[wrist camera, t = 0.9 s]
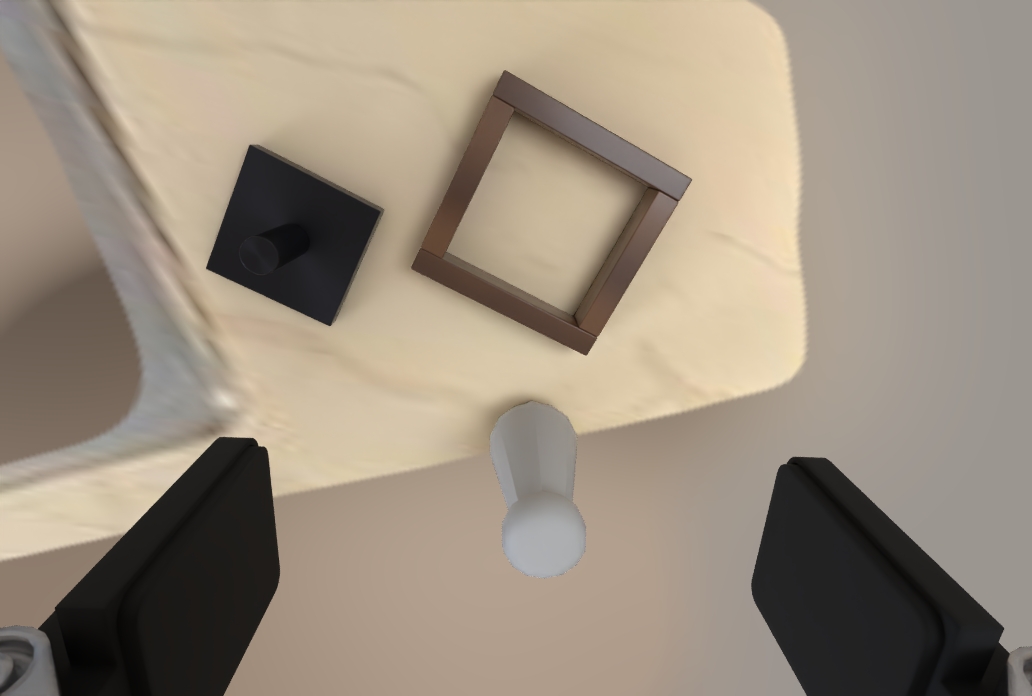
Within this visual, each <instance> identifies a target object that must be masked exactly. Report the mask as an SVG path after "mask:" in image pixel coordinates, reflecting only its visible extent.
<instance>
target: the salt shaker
mask: <svg viewBox="0 0 1032 696" xmlns="http://www.w3.org/2000/svg"><path fill="white" fill-rule="evenodd" d="M576 448H577V434H576V432H575V430H574V428H573V426H572V424H571V422H570V420H569V418H568V417H567V416H566V415H565V414H563V413H562V412H560V411H559V410H557V409H556V408H555V407H553V406H551V405H546V404H541V403H537V402H534V401H530V402H528V403H525V404H522V405H518V406H514V407H513V408H511V409H510V410H509V411H507V412H506V413H504V414H503V415H502V416H500V417H499V419H498V421H497V423H496V425H495V427H494V429H493V431H492V433H491V436H490V455H491V458H492V461H493V465H494V468H495V471H496V474H497V477H498V480H499V483H500V486H501V489H502V492H503V495H504V498H505V501H506V505H507V507H508V513H507V514H506V516H505V518H504V520H503V524H502V547H503V550H504V553H505V555H506V557H507V558H508V560H509V561H510V563H511V565H512V566H513V567H514V568H516V569H518V570H519V571H521V572H522V573H524V574H525V575H527V576H533V577H540V578H547V577H553V576H558V575H562V574H564V573H565V572H567V571H568V570H570V569H571V568H573V567H574V566H576V565H577V563H578V562H579V560H580V559H581V557H582V555H583V554H584V552H585V541H586V526H585V523H584V520H583V518H582V516H581V514H580V512H579V510H578V508H577V506H576V505H575V504H574V503H573V490H574V477H575V464H576V450H577V449H576Z"/></svg>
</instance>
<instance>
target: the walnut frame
mask: <svg viewBox="0 0 1032 696" xmlns="http://www.w3.org/2000/svg"><path fill="white" fill-rule="evenodd" d="M514 111H516V112H518V113H519V114H521V115H523V116H525V117H526V118H528V119H530V120H532V121H533V122H535V123H537V124H539V125H540V126H542V127H544V128H546V129H547V130H549V131H551V132H553V133H554V134H556V135H558V136H560V137H561V138H563V139H565V140H567V141H568V142H570V143H572V144H574V145H575V146H577V147H579V148H581V149H582V150H584V151H586V152H588V153H589V154H591V155H593V156H595V157H596V158H598V159H600V160H602V161H603V162H605V163H607V164H609V165H611V166H612V167H614V168H616V169H618V170H619V171H621V172H623V173H625V174H626V175H628V176H630V177H632V178H633V179H635V180H637V181H639V182H640V183H642V184H644V185H646V186H647V187H649V188H648V189H647V191H646V192H645V194H644V196H643V198H642V199H641V201H640V203H639V205H638V206H637V208H636V210H635V211H634V213H633V215H632V217H631V218H630V220H629V222H628V224H627V225H626V227H625V229H624V230H623V232H622V234H621V236H620V237H619V239H618V241H617V243H616V244H615V246H614V248H613V249H612V251H611V253H610V255H609V256H608V258H607V260H606V262H605V263H604V265H603V267H602V268H601V270H600V272H599V274H598V275H597V277H596V279H595V281H594V282H593V284H592V286H591V287H590V289H589V291H588V293H587V294H586V296H585V298H584V300H583V301H582V303H581V305H580V306H579V308H578V310H577V312H576V313H575V315H574V317H573V316H571V315H570V314H568V313H566V312H564V311H562V310H560V309H558V308H556V307H554V306H552V305H550V304H548V303H546V302H544V301H542V300H540V299H538V298H536V297H534V296H532V295H530V294H528V293H526V292H524V291H522V290H520V289H518V288H516V287H514V286H512V285H510V284H509V283H507V282H505V281H503V280H501V279H499V278H497V277H495V276H493V275H491V274H489V273H487V272H485V271H483V270H481V269H479V268H477V267H475V266H473V265H471V264H469V263H467V262H465V261H463V260H461V259H459V258H457V257H455V256H453V255H451V254H450V253H448V252H446V250H447V248H448V246H449V244H450V242H451V240H452V238H453V236H454V234H455V232H456V230H457V228H458V226H459V224H460V222H461V220H462V217H463V215H464V213H465V211H466V209H467V207H468V205H469V203H470V201H471V199H472V197H473V195H474V193H475V191H476V189H477V187H478V185H479V182H480V180H481V178H482V176H483V174H484V172H485V170H486V168H487V166H488V164H489V162H490V160H491V158H492V156H493V154H494V152H495V150H496V148H497V145H498V143H499V141H500V139H501V137H502V135H503V133H504V131H505V129H506V127H507V125H508V123H509V121H510V119H511V117H512V115H513V113H514ZM691 181H692V179H691V178H690V177H688V176H686V175H684V174H683V173H681V172H679V171H678V170H676V169H674V168H672V167H671V166H669V165H667V164H665V163H664V162H662V161H660V160H659V159H657V158H655V157H653V156H652V155H650V154H648V153H647V152H645V151H643V150H641V149H640V148H638V147H636V146H635V145H633V144H631V143H629V142H628V141H626V140H624V139H623V138H621V137H619V136H617V135H616V134H614V133H612V132H611V131H609V130H607V129H605V128H604V127H602V126H600V125H599V124H597V123H595V122H593V121H592V120H590V119H588V118H587V117H585V116H583V115H581V114H580V113H578V112H576V111H575V110H573V109H571V108H569V107H568V106H566V105H564V104H563V103H561V102H559V101H557V100H556V99H554V98H552V97H550V96H549V95H547V94H545V93H544V92H542V91H540V90H538V89H537V88H535V87H533V86H532V85H530V84H528V83H526V82H525V81H523V80H521V79H520V78H518V77H516V76H514V75H513V74H511V73H509V72H508V71H506V70H504V71H503V73H502V76H501V78H500V80H499V82H498V84H497V86H496V88H495V90H494V93H493V96H492V97H491V99H490V101H489V103H488V105H487V107H486V110H485V112H484V114H483V116H482V118H481V120H480V122H479V124H478V126H477V129H476V131H475V133H474V135H473V137H472V139H471V141H470V143H469V146H468V148H467V150H466V152H465V154H464V156H463V158H462V160H461V163H460V165H459V167H458V169H457V171H456V173H455V175H454V177H453V180H452V182H451V184H450V186H449V188H448V190H447V192H446V194H445V197H444V199H443V201H442V203H441V205H440V207H439V209H438V211H437V214H436V216H435V218H434V220H433V222H432V224H431V226H430V228H429V231H428V233H427V235H426V237H425V239H424V241H423V243H422V245H421V248H420V250H419V252H418V254H417V256H416V258H415V260H414V262H413V265H412V267H411V269H412V270H414V271H416V272H418V273H420V274H422V275H424V276H426V277H428V278H430V279H432V280H434V281H436V282H438V283H440V284H442V285H445V286H447V287H449V288H451V289H453V290H455V291H457V292H459V293H461V294H463V295H465V296H467V297H469V298H471V299H473V300H475V301H477V302H479V303H481V304H483V305H485V306H487V307H489V308H491V309H493V310H495V311H497V312H499V313H501V314H503V315H505V316H507V317H509V318H511V319H513V320H515V321H517V322H519V323H521V324H523V325H525V326H527V327H529V328H531V329H533V330H535V331H537V332H539V333H541V334H543V335H545V336H547V337H549V338H551V339H553V340H555V341H557V342H559V343H561V344H563V345H565V346H567V347H569V348H571V349H573V350H575V351H577V352H579V353H581V354H583V355H587V354H588V353H589V351H590V349H591V348H592V346H593V344H594V343H595V341H596V339H597V337H598V336H599V334H600V333H601V331H602V329H603V328H604V326H605V324H606V323H607V321H608V319H609V318H610V316H611V314H612V313H613V311H614V309H615V308H616V306H617V304H618V303H619V301H620V299H621V298H622V296H623V294H624V293H625V291H626V289H627V288H628V286H629V284H630V283H631V281H632V279H633V278H634V276H635V274H636V273H637V271H638V269H639V268H640V266H641V264H642V263H643V261H644V259H645V258H646V256H647V254H648V253H649V251H650V249H651V248H652V246H653V244H654V243H655V241H656V239H657V238H658V236H659V234H660V233H661V231H662V229H663V228H664V226H665V224H666V223H667V221H668V219H669V218H670V216H671V214H672V213H673V211H674V209H675V208H676V206H677V204H678V201H680V199H681V198H682V196H683V194H684V193H685V191H686V189H687V188H688V186H689V184H690V183H691Z"/></svg>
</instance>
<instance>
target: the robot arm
mask: <svg viewBox="0 0 1032 696" xmlns="http://www.w3.org/2000/svg"><path fill="white" fill-rule="evenodd" d="M279 576H280V565H279V556H278V546H277V537H276V526H275V516H274V507H273V496H272V487H271V477H270V467H269V457H268V451H267V449H266V448H265V447H261V446H258V443H257V441H256V440H255V439H254V438H234V437H219V438H218V439H217V440H215V441H214V442H213V444H212V445H211V446H210V447H209V448H208V449H207V450H206V451H205V452H204V453H203V454H202V455H201V456H200V457H199V458H198V459H197V460H196V461H195V462H194V463H193V464H192V465H191V466H190V467H189V468H188V470H187V471H186V472H185V473H184V474H183V475H182V476H181V477H180V478H179V479H178V480H177V481H176V482H175V483H174V484H173V485H172V486H171V487H170V488H169V489H168V490H167V491H166V492H165V493H164V494H163V496H162V497H161V498H160V499H159V500H158V501H157V502H156V503H155V504H154V505H153V506H152V507H151V508H150V509H149V510H148V511H147V512H146V513H145V514H144V515H143V516H142V517H141V518H140V519H139V520H138V522H137V523H136V524H135V525H134V526H133V527H132V528H131V529H130V530H129V531H128V532H127V533H126V534H125V535H124V536H123V537H122V538H121V539H120V541H118V542H117V543H116V544H115V545H114V546H113V548H112V549H111V550H110V551H109V552H108V553H107V554H106V555H105V556H104V557H103V558H102V559H101V560H100V561H99V562H98V563H97V564H96V565H95V566H94V567H93V568H92V569H91V570H90V571H89V573H88V574H87V575H86V576H85V577H84V578H83V579H82V580H81V581H80V582H79V583H78V584H77V585H76V586H75V587H74V588H73V589H72V590H71V591H70V592H69V593H68V594H67V595H66V596H65V597H64V599H63V600H62V601H61V602H60V603H59V604H58V605H57V606H56V607H55V611H54V612H53V614H52V615H51V616H50V617H49V618H48V619H47V620H46V621H45V622H44V623H43V624H42V625H41V626H40V627H39V628H38V629H36V628H34V627H25V626H9V627H3V628H0V696H223V695H224V693H225V691H226V689H227V687H228V685H229V683H230V681H231V679H232V677H233V675H234V673H235V671H236V669H237V668H238V666H239V664H240V661H241V660H242V658H243V656H244V654H245V652H246V649H247V648H248V646H249V643H250V641H251V640H252V637H253V636H254V633H255V632H256V630H257V628H258V626H259V624H260V622H261V619H262V618H263V616H264V614H265V612H266V610H267V608H268V606H269V604H270V602H271V600H272V598H273V596H274V594H275V591H276V589H277V586H278V583H279ZM751 587H752V595H753V598H754V601H755V603H756V605H757V607H758V609H759V611H760V612H761V614H762V616H763V618H764V619H765V621H766V623H767V625H768V626H769V628H770V630H771V632H772V634H773V636H774V637H775V639H776V641H777V643H778V645H779V646H780V648H781V650H782V652H783V654H784V655H785V657H786V659H787V661H788V662H789V664H790V666H791V668H792V670H793V671H794V673H795V675H796V677H797V679H798V680H799V682H800V684H801V686H802V688H803V689H804V691H805V693H806V695H807V696H1032V646H1030V647H1019V648H1017V649H1016V650H1014V651H1012V652H1011V653H1009V652H1008V651H1006V649H1004V648H1003V646H1002V645H1001V644H1000V643H999V639H1000V637H1001V635H1002V633H1003V630H1004V627H1003V626H1002V625H1001V624H999V623H998V622H997V621H996V620H995V619H994V618H993V617H992V616H991V615H990V614H989V613H988V612H987V611H986V610H985V609H984V608H983V607H982V606H981V605H980V604H978V603H977V602H976V601H975V600H974V599H973V598H972V597H971V596H970V595H969V594H968V593H967V592H966V591H965V590H964V589H963V588H962V587H961V586H960V585H959V584H958V583H957V582H956V581H955V580H953V579H952V578H951V577H950V576H949V575H948V574H947V573H946V572H945V571H944V570H943V569H942V568H941V567H940V566H939V565H938V564H937V563H936V562H935V561H934V560H933V559H932V558H931V557H929V555H927V554H926V553H925V552H924V551H923V550H922V549H921V548H920V547H919V546H918V545H917V544H916V543H915V542H914V541H913V540H912V539H911V538H909V536H908V535H907V534H905V532H903V531H902V530H901V529H900V528H899V527H898V526H897V525H896V524H895V523H894V522H893V521H892V520H891V519H890V518H889V517H888V516H887V515H886V514H885V513H884V512H883V511H882V510H881V509H879V508H878V507H877V506H876V505H875V504H874V503H873V502H872V501H871V500H870V499H869V498H868V497H867V496H866V495H865V494H864V493H863V492H861V490H860V489H859V488H858V487H856V486H855V485H854V484H853V483H852V482H851V481H850V480H849V479H848V478H847V477H846V476H845V475H844V474H843V473H842V472H841V471H840V470H839V469H838V468H837V467H836V466H835V465H834V464H832V463H831V462H830V461H829V460H828V459H826V458H814V457H792V458H791V459H790V460H789V461H788V462H787V464H783V465H781V466H780V467H779V469H778V472H777V476H776V480H775V484H774V489H773V493H772V497H771V501H770V506H769V510H768V514H767V518H766V522H765V527H764V531H763V535H762V539H761V544H760V548H759V552H758V556H757V560H756V565H755V569H754V573H753V577H752V583H751Z"/></svg>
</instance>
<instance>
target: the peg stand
mask: <svg viewBox="0 0 1032 696" xmlns="http://www.w3.org/2000/svg"><path fill="white" fill-rule="evenodd" d="M383 212H384V209H383V208H381V207H379V206H377V205H375V204H373V203H371V202H369V201H367V200H365V199H363V198H361V197H359V196H357V195H355V194H353V193H352V192H350V191H348V190H346V189H344V188H342V187H340V186H338V185H336V184H334V183H332V182H330V181H328V180H326V179H324V178H322V177H320V176H318V175H316V174H314V173H312V172H311V171H309V170H307V169H305V168H303V167H301V166H299V165H297V164H295V163H293V162H291V161H289V160H287V159H285V158H283V157H281V156H279V155H277V154H275V153H273V152H271V151H270V150H268V149H266V148H264V147H262V146H260V145H250V146H249V148H248V151H247V154H246V157H245V160H244V162H243V165H242V168H241V171H240V174H239V177H238V179H237V182H236V185H235V188H234V191H233V193H232V196H231V199H230V202H229V205H228V208H227V210H226V213H225V216H224V219H223V222H222V225H221V227H220V230H219V233H218V236H217V239H216V241H215V244H214V247H213V250H212V253H211V256H210V258H209V261H208V264H207V267H206V269H208V270H210V271H212V272H214V273H216V274H219V275H221V276H223V277H225V278H227V279H229V280H231V281H234V282H236V283H238V284H240V285H242V286H244V287H247V288H249V289H251V290H253V291H255V292H257V293H259V294H262V295H264V296H266V297H268V298H270V299H272V300H275V301H277V302H279V303H281V304H283V305H285V306H287V307H290V308H292V309H294V310H296V311H298V312H300V313H303V314H305V315H307V316H309V317H311V318H313V319H315V320H318V321H320V322H322V323H324V324H326V325H328V326H331V325H332V324H333V323H334V322H335V321H336V318H337V316H338V314H339V312H340V309H341V307H342V305H343V303H344V300H345V298H346V296H347V293H348V291H349V289H350V287H351V284H352V282H353V280H354V278H355V275H356V273H357V271H358V269H359V266H360V264H361V262H362V259H363V257H364V255H365V253H366V250H367V248H368V246H369V244H370V241H371V239H372V237H373V235H374V232H375V230H376V228H377V226H378V223H379V221H380V219H381V216H382V214H383Z"/></svg>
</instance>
